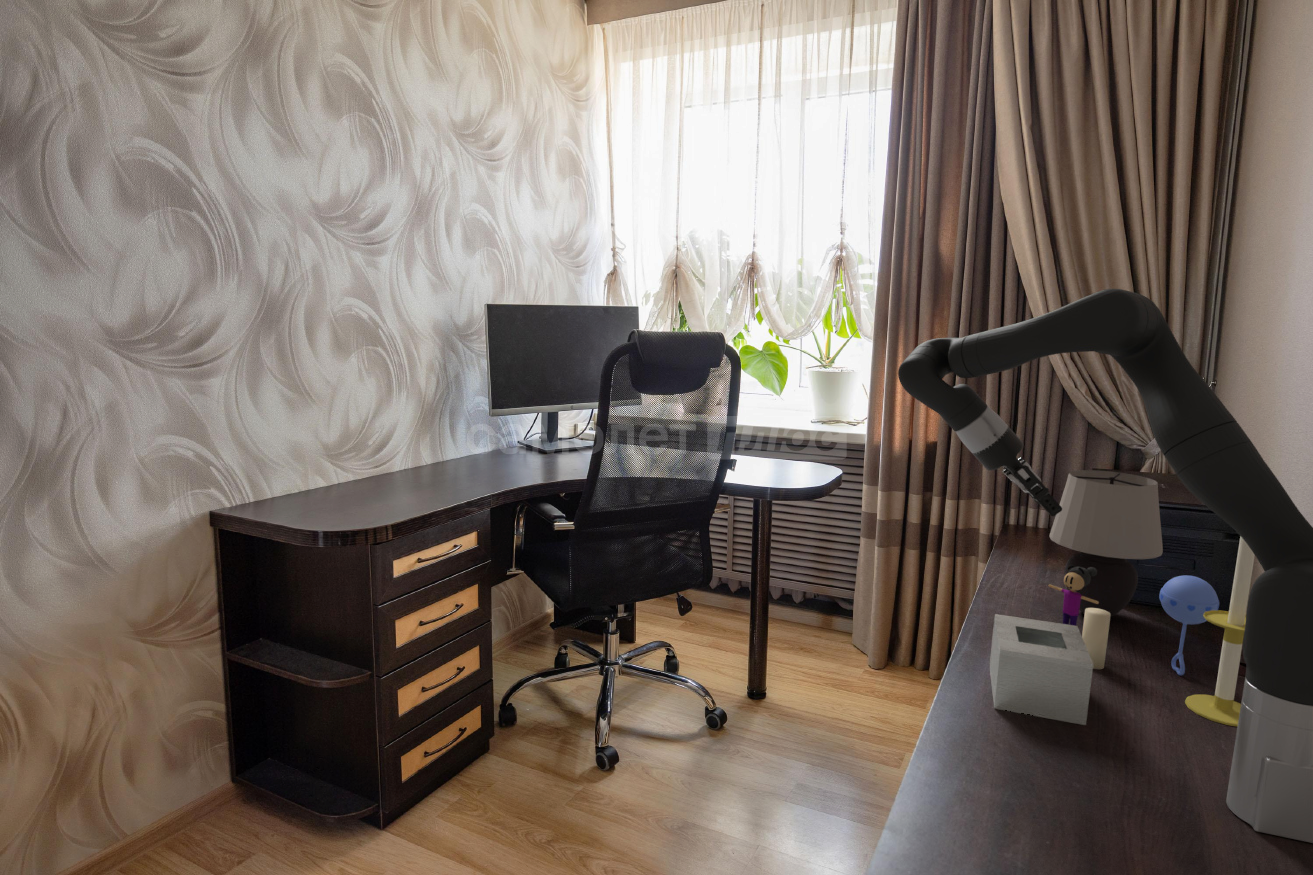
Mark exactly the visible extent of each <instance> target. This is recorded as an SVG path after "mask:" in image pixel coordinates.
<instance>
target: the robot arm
mask: <svg viewBox="0 0 1313 875" xmlns="http://www.w3.org/2000/svg"><path fill="white" fill-rule="evenodd" d="M1082 352H1083V353H1086V352H1095V353H1098V354H1103V355H1110V357H1112V358H1113V359H1114V361H1116V363H1117V364H1118V365H1119V366H1120V367H1121V369H1122V370H1123V371H1124V372H1125V373H1126V375H1127V376H1128V377H1129V379H1130V380H1131V381H1132V383H1133V384H1134V385H1135V387H1136V389H1137V390H1138V393H1139V394H1140V396H1141V399H1142V401H1143V403H1144V407H1145V410H1146V415H1147V417H1148V418H1147V419H1148V422H1149V425H1150V429H1151V432H1152V434H1153V437H1154V439H1155V442H1156V444H1157V447H1158V448H1159V449H1160V451H1161V453H1162V455H1163V456H1164V458H1165V459H1166V461H1167V463H1168V464H1169V465H1170V468H1172V470H1173V472H1174V473H1175V474H1176V476H1177V477H1178V479H1179V480H1180V481H1181V483H1182V484H1183V485H1184V487H1185V488H1186V489H1187V490H1188V491H1189V493H1191V494H1192V495H1193V496H1194V497H1195V498H1196V499H1197V500H1199V502H1201V503H1202V504H1203V505H1205V506H1206V507H1207V509H1209V510H1210V511H1211V512H1213V513H1214V514H1215V515H1217V517H1219V518H1220V519H1221V520H1223V521H1224V522H1225V523H1226V524H1227V525H1229V526H1230V527H1231V528H1232V529H1233V530H1234V531H1235V532H1236V533H1237V534H1238V535H1239V537H1240V536H1241V537H1242V538H1243V539H1244V541H1245V542H1246V543H1247V545H1248V546H1249V547H1250V549H1251V550H1252V552H1253V553H1254V555H1255V558H1256V560H1257V561H1258V563H1259V564H1260V566H1261V567H1262V570H1263V571H1264V572H1263V573H1261V574H1259V576H1258V577H1257V578H1256V579H1255V581H1254V583H1253V584H1252V586H1251V588H1250V589H1251V590H1250V591H1249V595H1248V602H1247V608H1246V623H1245V632H1244V637H1243V644H1242V655H1243V659H1244V662H1245V664H1246V670H1245V675H1244V676H1245V677H1244V684H1243V690H1242V697H1241V703H1240V704H1241V708H1240V714H1239V721H1238V727H1236V734H1235V741H1234V748H1233V753H1232V761H1231V765H1230V772H1229V779H1228V787H1227V793H1226V801H1225V802H1226V805H1227V807H1228V809H1229V810H1230V811H1231V812H1232V813H1233V814H1234V815H1236V816H1237V817H1238V818H1239V819H1240V820H1242V821H1244V822H1246V823H1247V824H1249V825H1250V826H1251V827H1252V829H1253V831H1255V832H1257V833H1264V834H1267V835H1268V834H1269V835H1272V836H1278V837H1282V838H1287V839H1293V840H1297V841H1301V842H1307V843H1311V844H1313V525H1311V524H1310V523H1309V521H1308V520H1307V519H1306V517H1304V515H1303V514H1302V512H1300V510H1299V509H1298V507H1297V506H1296V504H1295V503H1294V501H1293V500H1292V498H1291V496H1290V495H1289V494H1288V492H1287V491H1286V490H1285V487H1283V485H1282V484H1281V481H1280V480H1279V479H1278V478H1277V476H1276V475H1275V474H1274V472H1273V471H1272V470H1271V468H1270V467H1269V465H1268V464H1267V462H1266V461H1265V460H1264V457H1262V455H1261V454H1260V452H1259V451H1258V449H1257V448H1256V446H1255V444H1254V443H1253V442H1252V440H1251V439H1250V437H1249V436H1248V435H1247V434H1246V432H1245V431H1244V429H1243V428H1242V426H1241V425H1240V423H1239V422H1238V421H1237V420H1236V418H1235V417H1234V415H1233V414H1231V412H1230V411H1229V410H1228V408H1227V407H1226V406H1225V405H1224V404H1223V402H1222V401H1221V399H1220V398H1219V397H1218V395H1217V394H1216V393H1215V391H1214V390H1213V389H1212V387H1211V386H1210V385H1209V384H1208V383H1207V382H1206V380H1204V379H1203V377H1202V376H1201V374H1199V373H1198V372H1197V370H1196V369H1195V368H1194V366H1193V365H1192V364H1191V363H1190V361H1189V359H1188V358H1187V356H1186V355H1185V353H1184V351H1183V349H1182V348H1181V346H1180V344H1179V343H1178V340H1177V339H1176V337H1175V335H1174V333H1173V331H1172V329H1171V327H1170V326H1169V324H1168V322H1167V321H1166V319H1165V317H1164V315H1163V313H1162V312H1161V310H1160V308H1159V307H1158V306H1157V304H1156V303H1155V302H1154V301H1152V300H1151V299H1150V298H1149V297H1147V296H1146V295H1143V294H1140V293H1137V292H1133V291H1129V290H1126V289H1121V288H1106V289H1102V290H1099V291H1097V292H1094V293H1091V294H1089V295H1086V296H1084V297H1082V298H1080V299H1078V300H1075V301H1073V302H1070V303H1068V304H1066V305H1063V306H1061V307H1059V308H1057V309H1055V310H1052V311H1049V312H1047V313H1044V314H1041V315H1039V316H1035V317H1032V318H1030V319H1027V320H1023V321H1021V322H1017V323H1013V324H1009V325H1004V326H1001V327H997V328H993V329H988V330H986V331H981V332H977V333H974V334H970V335H965V336H964V337H940V338H939V337H937V338H933V339H928V340H926V341H924V342H921V343H920V344H919V345H917V346H916V347H915V348H914V349H913V350H912V352H910V354H909V355H908V356H906V358H905V359H904V360H903V361H902V362H901V364H900V365H899V368H898V370H897V375H898V376H897V378H898V380H899V382H900V385H901V387H903V389H904V390H905V391H906V393H907V394H909V395H910V396H911V397H912V398H914V399H915V400H917V401H919V402H920V403H922V404H923V405H924V406H926V407H927V408H928V409H931V410H932V411H934V412H935V413H937V414H938V415H939V416H940V417H941V418H942V419H943V420H944V421H945V423H946V424H947V425H948V426H949V427H950V428H951V429H952V430H953V432H954V433H955V434H956V435H957V437H958V438H959V440H960V441H961V443H962V444H963V445H964V446H965V447H966V448H967V449H968V450H969V452H971V454H972V455H973V456H974V457H975V458H976V459H977V460H978V462H979V463H980V464H981V465H982V466H983V467H984V468H985V469H986V470H987V471H995V470H999V469H1000V468H1001V467H1002V468H1003V470H1002V471H1001V472H1002V473H1003V474H1004V475H1005V476H1006V477H1007V478H1008V479H1009V480H1010V481H1011V482H1013V483H1014V484H1015V485H1016V486H1018V488H1020V490H1022V491H1023V492H1024V493H1026V494H1028V495H1029V497H1030V498H1032V500H1033V502H1035V503H1036V504H1037V505H1040V506H1041V507H1042V508H1043V509H1044V510H1045V511H1046V512H1047V514H1048V515H1049V516H1051V517H1056V515H1057V514H1058V513H1059V512H1061V511H1062V507H1061V506H1060V503H1058V501H1057V500H1056V499H1055V498H1053V496H1052V495H1051V494H1050V489H1049V488H1048V487H1046V485H1045V484H1043V482H1042V479H1041V477H1040V476H1039V475H1038V474H1037V473H1036V472H1035V471H1034V470H1033V469H1032V467H1031V465H1030V464H1029V463H1028V461H1026V460H1024V459H1023V458H1022V457H1019V458H1017V456H1018V454H1020V453H1021V452H1022V450H1023V449H1024V442H1023V441H1022V440H1021V439H1020V438H1019V437H1018V435H1017V434H1016V433H1015V432H1014V431H1013V430H1012V429H1011V427H1010V426H1009V425H1008V424H1007V423H1006V422H1005V421H1004V419H1002V417H1001V416H1000V415H999V414H998V413H997V412H995V411H994V410H993V408H990V406H989V405H987V403H986V402H985V401H984V399H982V397H981V396H980V395H979V394H978V393H977V392H976V391H975V390H974V389H973V388H972V387H971V386H969V385H968V384H965V383H959V384H957V385H954V386H952V385H950V384H949V383H947V382H946V381H945V380H944V378H945V377H946V375H949V374H951V373H954V375H955V376H957V377H958V378H961V379H973V378H978V377H983V376H988V375H992V374H996V373H997V374H998V373H1001V372H1005V371H1009V370H1012V369H1015V368H1018V367H1019V366H1023V365H1024V364H1025V365H1026V364H1027V363H1030V362H1031V361H1035V360H1037V359H1041V358H1044V357H1048V356H1053V355H1060V354H1068V353H1082Z"/></svg>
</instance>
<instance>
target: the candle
mask: <svg viewBox="0 0 1313 875" xmlns="http://www.w3.org/2000/svg"><path fill="white" fill-rule="evenodd" d="M1239 537H1240V538H1239V544H1238V549H1237V557H1236V563H1235V570H1234V576H1233V581H1232V582H1233V583H1232V587H1231V588H1232V589H1231V594H1230V595H1231V596H1230V602H1229V609H1228V611H1227V610H1219V609H1218V610H1211V611H1207V612H1205V613H1204V615H1203V617H1204V618H1205V619H1206V620H1207V621H1206V622H1209V623H1211V624H1212V625H1214V626H1217V627H1220V628H1223V629H1224V633H1223V638H1222V646H1221V650H1220V657H1219V658H1220V659H1219V665H1218V671H1217V672H1218V673H1217V679H1216V684H1215V691H1214V695H1210V694H1192V695H1189V696H1187V697H1186V699H1185V701H1184V703H1185V705H1186V706H1187V708H1188V709H1189V710H1191V711H1192V712H1194V713H1195V714H1196V715H1198V716H1200V717H1203V718H1204V719H1207V720H1209V721H1212V722H1215V723H1219V724H1222V725H1225V726H1231V727H1236V728H1237V727H1238V721H1239V714H1240V708H1241V703H1240V702H1237V701H1235V694H1236V688H1237V682H1238V677H1239V676H1238V675H1239V668H1240V663H1241V657H1242V656H1241V655H1242V651H1243V642H1244V632H1245V623H1246V613H1247V606H1248V600H1249V595H1250V589H1251V582H1252V577H1253V575H1252V574H1253V568H1254V562H1255V558H1256V556H1255V555H1254V553H1253V552H1252V550H1251V549H1250V547H1249V546H1248V545H1247V543H1246V542H1245V541H1244V539H1243V538H1242V537H1241V536H1240V535H1239Z"/></svg>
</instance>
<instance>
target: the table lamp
mask: <svg viewBox="0 0 1313 875" xmlns="http://www.w3.org/2000/svg"><path fill="white" fill-rule="evenodd" d="M1158 485H1159V482H1158V481H1157V480H1154V479H1152V478H1149V477H1146V476H1141V475H1138V474H1130V473H1127V472H1126V473H1125V472H1117V471H1110V470H1107V471H1106V470H1097V469H1096V470H1092V469H1090V470H1089V469H1087V470H1086V469H1083V470H1082V469H1081V470H1080V469H1079V470H1073V471H1070V472H1068V476H1067V480H1066V483H1065V487H1064V489H1063V493H1062V494H1061V495H1062V496H1061V499H1060V501H1059V505H1060V506H1061V507H1062V511H1061V512H1059V513H1058V514H1057V515H1055V516H1054V520H1053V524H1052V526H1051V528H1050V533H1049V538H1050V541H1051V542H1053V543H1056V544H1057V545H1059V546H1062V547H1065V548H1068V549H1069V550H1073V551H1077V553H1075V554H1073V555H1071V556H1070V557H1069V559H1067V561H1066V563H1065V566H1064V573H1063V574H1064V576H1065V575H1066V574H1067V573H1069V571H1070V570H1071V569H1072V568H1070V569H1069V570H1068V567H1069V566H1071V565H1074V566H1075V567H1083V568H1085V569H1086V570H1087V569H1088V568H1089V567H1094V568H1095V569H1096V570H1097V575H1096V576H1093V577H1092V576H1091V581H1090V583H1089V584H1088V585H1087V586H1085V587H1083V588H1082V589H1080V590H1075V591H1077V592H1078V593H1080V594H1081V595H1082V596H1085V597H1087V598H1090V599H1093V600H1096V601H1098V602H1099V603H1098V604H1096V603H1093V602H1090V601H1087V600H1084V599H1081V601H1080V609H1079V612H1082V613H1083V614H1085V609H1086V608H1098V609H1102V610H1105V611H1108V612H1109V613H1110V614H1111V615H1110V618H1111V617H1114V616H1115V615H1117V614H1118V613H1120V612H1121V611H1122V610H1123V609H1124V608H1126V607H1127V606H1128V604H1129V603H1130V602H1131V600H1132V598H1133V597H1134V595H1135V592H1136V589H1137V587H1138V584H1139V576H1138V571H1137V569H1136V567H1135V565H1133V564H1132V563H1131V562H1130V561H1129V560H1146V559H1147V560H1148V559H1156V558H1158V557H1161V556H1162V555H1163V552H1164V550H1163V536H1162V524H1161V514H1160V502H1159V500H1160V499H1159V488H1158V487H1159V486H1158ZM1066 590H1070V589H1068V588H1067V587H1066Z"/></svg>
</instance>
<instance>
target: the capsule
mask: <svg viewBox="0 0 1313 875" xmlns="http://www.w3.org/2000/svg"><path fill="white" fill-rule="evenodd" d="M1110 615H1111V614H1110V613H1109V612H1108V611H1105V610H1102V609H1098V608H1086V609H1085V613H1084V617H1083V625H1082V631H1081V632H1082V633H1081V636H1082V638H1083V641H1084V643H1085V645H1086V648H1087V650H1088V653H1089V655H1090V657H1091V660H1092V662H1093V670H1102V669H1104V668H1105V662H1106V656H1107V655H1106V653H1107V646H1108V639H1109V638H1108V637H1109V630H1110V623H1111V622H1110V621H1111V617H1110Z"/></svg>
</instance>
